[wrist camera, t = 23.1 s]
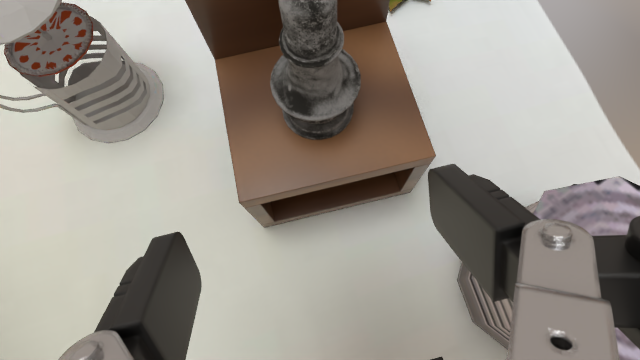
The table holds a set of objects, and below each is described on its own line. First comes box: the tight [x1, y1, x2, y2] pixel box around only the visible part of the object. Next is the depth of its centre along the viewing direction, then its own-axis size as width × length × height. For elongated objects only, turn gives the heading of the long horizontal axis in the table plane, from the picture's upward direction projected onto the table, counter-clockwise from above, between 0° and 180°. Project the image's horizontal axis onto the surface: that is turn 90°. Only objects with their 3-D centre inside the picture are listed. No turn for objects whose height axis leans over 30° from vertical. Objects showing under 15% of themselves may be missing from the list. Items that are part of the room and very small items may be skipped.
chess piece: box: [270, 0, 361, 140], centre depth 21 cm, size 6×6×12 cm
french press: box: [0, 0, 163, 143], centre depth 26 cm, size 10×12×25 cm
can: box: [457, 176, 640, 360], centre depth 25 cm, size 11×11×12 cm
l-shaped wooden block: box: [185, 0, 436, 227], centre depth 27 cm, size 13×14×18 cm
